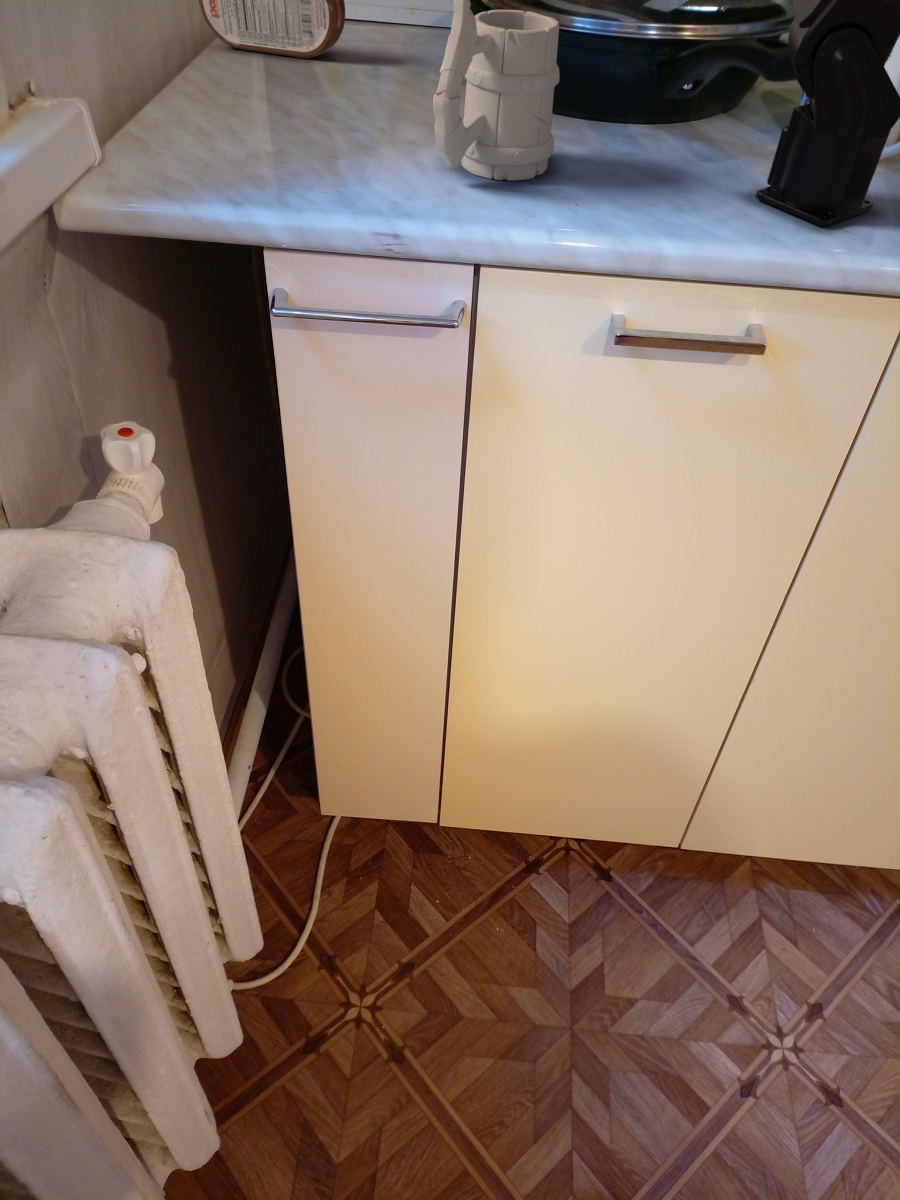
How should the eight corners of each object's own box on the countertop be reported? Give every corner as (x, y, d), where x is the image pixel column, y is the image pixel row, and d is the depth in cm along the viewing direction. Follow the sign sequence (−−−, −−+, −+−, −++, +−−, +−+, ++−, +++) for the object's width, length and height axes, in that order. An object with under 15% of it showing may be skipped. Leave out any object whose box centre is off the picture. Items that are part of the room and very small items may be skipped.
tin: (348, 57, 88) (344, -44, 82) (337, 65, 86) (332, -38, 80) (213, 39, 91) (200, -61, 84) (199, 46, 88) (185, -55, 82)
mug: (570, 166, 70) (595, -13, 61) (472, 204, 63) (484, 11, 55) (499, 140, 73) (513, -32, 64) (399, 174, 67) (400, -12, 58)
